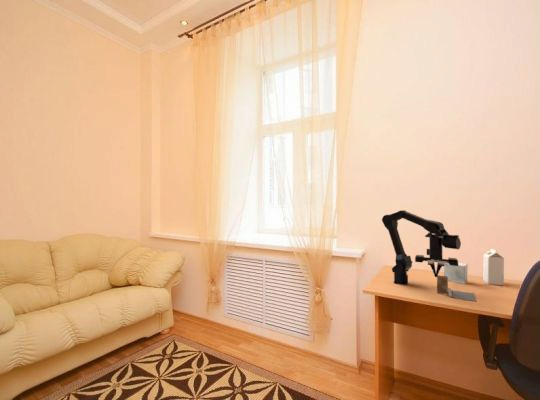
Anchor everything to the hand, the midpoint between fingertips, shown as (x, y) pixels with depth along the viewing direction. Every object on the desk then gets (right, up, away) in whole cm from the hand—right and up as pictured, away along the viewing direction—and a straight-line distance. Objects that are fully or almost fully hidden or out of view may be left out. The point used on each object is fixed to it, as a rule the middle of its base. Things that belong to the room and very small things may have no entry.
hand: (435, 276), depth 142 cm
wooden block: (+2, -8, -1) cm, 8 cm away
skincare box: (+22, -8, +18) cm, 29 cm away
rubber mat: (+10, -8, -6) cm, 14 cm away
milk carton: (+40, -7, +14) cm, 43 cm away
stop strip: (+5, -8, -3) cm, 10 cm away
